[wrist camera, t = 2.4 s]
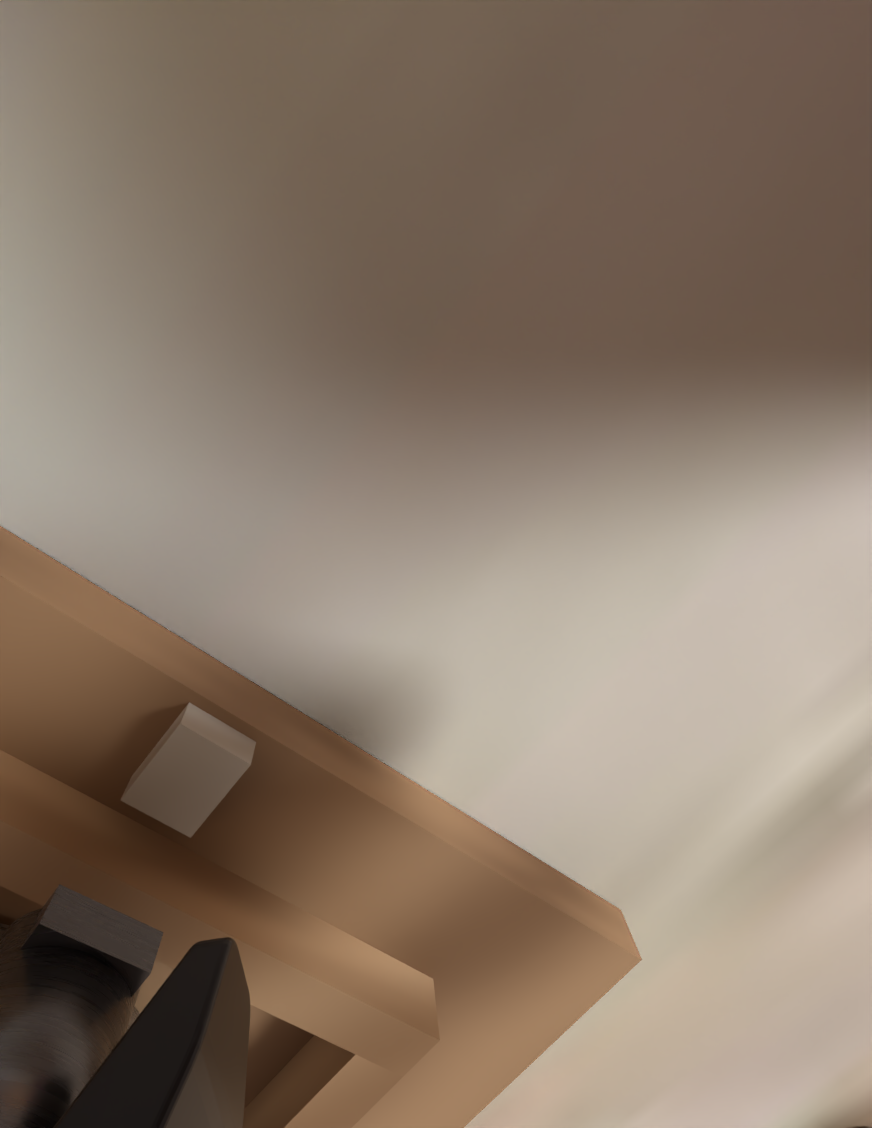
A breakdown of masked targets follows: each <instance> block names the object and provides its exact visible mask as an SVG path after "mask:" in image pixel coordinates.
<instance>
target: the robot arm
mask: <svg viewBox="0 0 872 1128" xmlns="http://www.w3.org/2000/svg"><path fill="white" fill-rule="evenodd" d="M249 1029H250V994H249V989H248V985H247V981H246V977H245V973H244V969H243V965H242V961H241V957H240V953H239V950H238V946H237V944H236V942H235V940H234V939H232V938H230V937H224V938H217V939H211V940H204V941H199V942H197V943H195V944H194V945H193V946H192V947H191V948H190V949H189V950H188V952H187V953H186V954H185V955H184V957H183V958H182V959H181V961H180V962H179V963H178V965H177V966H176V967H175V969H174V970H173V971H172V973H171V974H170V975H169V976H168V978H167V979H166V980H165V982H164V983H163V984H162V986H161V987H160V988H159V990H158V991H157V992H156V994H155V995H154V996H153V997H152V999H151V1000H150V1001H149V1003H148V1004H147V1005H146V1007H145V1008H144V1009H143V1011H142V1012H141V1013H140V1015H139V1016H138V1017H137V1018H136V1020H135V1021H134V1022H133V1024H132V1025H131V1026H130V1028H129V1029H128V1030H127V1032H126V1033H125V1034H124V1036H123V1037H122V1038H121V1039H120V1041H119V1042H118V1043H117V1045H116V1046H115V1047H114V1049H113V1050H112V1051H111V1053H110V1054H109V1055H108V1056H107V1058H106V1059H105V1060H104V1062H103V1063H102V1064H101V1066H100V1067H99V1068H98V1070H97V1071H96V1072H95V1074H94V1075H93V1076H92V1077H91V1079H90V1080H89V1081H88V1083H87V1084H86V1085H85V1087H84V1088H83V1089H82V1091H81V1092H80V1093H79V1095H78V1096H77V1097H76V1098H75V1100H74V1101H73V1102H72V1104H71V1105H70V1106H69V1108H68V1109H67V1110H66V1112H65V1113H64V1114H63V1116H62V1117H61V1118H60V1119H59V1121H58V1122H57V1123H56V1125H55V1126H54V1127H53V1128H243V1117H244V1103H245V1088H246V1073H247V1058H248V1044H249Z"/></svg>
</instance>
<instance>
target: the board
mask: <svg viewBox="0 0 872 1128" xmlns="http://www.w3.org/2000/svg"><path fill="white" fill-rule="evenodd" d="M59 884H60V885H62V886H65V887H67V888H69V889H71V890H73V891H75V892H78V893H80V894H82V895H84V896H86V897H88V898H90V899H93V900H95V901H97V902H99V903H101V904H103V905H106V906H108V907H110V908H112V909H114V910H116V911H119V912H121V913H123V914H125V915H127V916H129V917H132V918H134V919H136V920H138V921H140V922H142V923H145V924H147V925H149V926H151V927H153V928H155V929H157V930H160V931H162V932H164V933H163V936H162V939H161V942H160V946H159V949H158V952H157V955H156V958H155V962H154V965H153V968H152V971H151V974H150V975H149V976H148V977H147V979H146V980H145V981H144V982H143V984H142V985H141V988H140V991H139V994H138V997H137V1000H136V1003H135V1007H136V1008H137V1010H138V1011H139V1013H141V1012H142V1011H143V1009H144V1008H145V1007H146V1005H147V1004H148V1003H149V1001H150V1000H151V999H152V997H153V996H154V995H155V994H156V992H157V991H158V990H159V988H160V987H161V986H162V984H163V983H164V982H165V980H166V979H167V978H168V976H169V975H170V974H171V973H172V971H173V970H174V969H175V967H176V966H177V965H178V963H179V962H180V961H181V959H182V958H183V957H184V955H185V954H186V953H187V952H188V950H189V949H190V948H191V947H192V946H193V945H194V944H195V943H197V942H199V941H204V940H211V939H217V938H224V937H230V938H232V939H234V940H235V942H236V944H237V946H238V950H239V953H240V957H241V961H242V965H243V969H244V973H245V977H246V981H247V985H248V989H249V994H250V1029H249V1044H248V1058H247V1073H246V1088H245V1103H244V1117H243V1128H464V1127H465V1126H466V1125H467V1124H468V1123H469V1122H470V1121H471V1120H472V1119H473V1118H474V1117H475V1116H476V1115H477V1114H478V1113H479V1112H481V1111H482V1110H483V1109H484V1108H485V1107H486V1106H487V1105H488V1104H489V1103H490V1102H491V1101H492V1100H493V1099H494V1098H495V1097H496V1096H498V1095H499V1094H500V1093H501V1092H502V1091H503V1090H504V1089H505V1088H506V1087H507V1086H508V1085H509V1084H510V1083H511V1082H512V1081H513V1080H514V1079H516V1078H517V1077H518V1076H519V1075H520V1074H521V1073H522V1072H523V1071H524V1070H525V1069H526V1068H527V1067H528V1066H529V1065H530V1064H531V1063H532V1062H534V1061H535V1060H536V1059H537V1058H538V1057H539V1056H540V1055H541V1054H542V1053H543V1052H544V1051H545V1050H546V1049H547V1048H548V1047H549V1046H551V1045H552V1044H553V1043H554V1042H555V1041H556V1040H557V1039H558V1038H559V1037H560V1036H561V1035H562V1034H563V1033H564V1032H565V1031H566V1030H567V1029H569V1028H570V1027H571V1026H572V1025H573V1024H574V1023H575V1022H576V1021H577V1020H578V1019H579V1018H580V1017H581V1016H582V1015H583V1014H584V1013H586V1012H587V1011H588V1010H589V1009H590V1008H591V1007H592V1006H593V1005H594V1004H595V1003H596V1002H597V1001H598V1000H599V999H600V998H601V997H602V996H604V995H605V994H606V993H607V992H608V991H609V990H610V989H611V988H612V987H613V986H614V985H615V984H616V983H617V982H618V981H619V980H621V979H622V978H623V977H624V976H625V975H626V974H627V973H628V972H629V971H630V970H631V969H632V968H633V967H634V966H635V965H636V964H637V963H639V962H640V961H641V960H642V959H641V957H640V954H639V952H638V949H637V947H636V945H635V942H634V940H633V938H632V935H631V933H630V931H629V928H628V926H627V923H626V921H625V919H624V916H623V914H622V912H621V910H620V909H618V908H617V907H615V906H614V905H612V904H610V903H609V902H607V901H606V900H604V899H602V898H601V897H599V896H597V895H596V894H594V893H593V892H591V891H589V890H588V889H586V888H585V887H583V886H581V885H580V884H578V883H576V882H575V881H573V880H572V879H570V878H568V877H567V876H565V875H563V874H562V873H560V872H559V871H557V870H555V869H554V868H552V867H551V866H549V865H547V864H546V863H544V862H542V861H541V860H539V859H538V858H536V857H534V856H533V855H531V854H530V853H528V852H526V851H525V850H523V849H521V848H520V847H518V846H517V845H515V844H513V843H512V842H510V841H509V840H507V839H505V838H504V837H502V836H500V835H499V834H497V833H496V832H494V831H492V830H491V829H489V828H488V827H486V826H484V825H483V824H481V823H479V822H478V821H476V820H475V819H473V818H471V817H470V816H468V815H467V814H465V813H463V812H462V811H460V810H458V809H457V808H455V807H454V806H452V805H450V804H449V803H447V802H446V801H444V800H442V799H441V798H439V797H437V796H436V795H434V794H433V793H431V792H429V791H428V790H426V789H425V788H423V787H421V786H420V785H418V784H416V783H415V782H413V781H412V780H410V779H408V778H407V777H405V776H404V775H402V774H400V773H399V772H397V771H395V770H394V769H392V768H391V767H389V766H387V765H386V764H384V763H383V762H381V761H379V760H378V759H376V758H374V757H373V756H371V755H370V754H368V753H366V752H365V751H363V750H362V749H360V748H358V747H357V746H355V745H353V744H352V743H350V742H349V741H347V740H345V739H344V738H342V737H340V736H339V735H337V734H336V733H334V732H332V731H331V730H329V729H328V728H326V727H324V726H323V725H321V724H319V723H318V722H316V721H315V720H313V719H311V718H310V717H308V716H307V715H305V714H303V713H302V712H300V711H298V710H297V709H295V708H294V707H292V706H290V705H289V704H287V703H286V702H284V701H282V700H281V699H279V698H277V697H276V696H274V695H273V694H271V693H269V692H268V691H266V690H265V689H263V688H261V687H260V686H258V685H256V684H255V683H253V682H252V681H250V680H248V679H247V678H245V677H244V676H242V675H240V674H239V673H237V672H235V671H234V670H232V669H231V668H229V667H227V666H226V665H224V664H223V663H221V662H219V661H218V660H216V659H214V658H213V657H211V656H210V655H208V654H206V653H205V652H203V651H202V650H200V649H198V648H197V647H195V646H193V645H192V644H190V643H189V642H187V641H185V640H184V639H182V638H181V637H179V636H177V635H176V634H174V633H172V632H171V631H169V630H168V629H166V628H164V627H163V626H161V625H160V624H158V623H156V622H155V621H153V620H151V619H150V618H148V617H147V616H145V615H143V614H142V613H140V612H139V611H137V610H135V609H134V608H132V607H130V606H129V605H127V604H126V603H124V602H122V601H121V600H119V599H117V598H116V597H114V596H113V595H111V594H109V593H108V592H106V591H105V590H103V589H101V588H100V587H98V586H96V585H95V584H93V583H92V582H90V581H88V580H87V579H85V578H84V577H82V576H80V575H79V574H77V573H75V572H74V571H72V570H71V569H69V568H67V567H66V566H64V565H63V564H61V563H59V562H58V561H56V560H54V559H53V558H51V557H50V556H48V555H46V554H45V553H43V552H42V551H40V550H38V549H37V548H35V547H33V546H32V545H30V544H29V543H27V542H25V541H24V540H22V539H21V538H19V537H17V536H16V535H14V534H12V533H11V532H9V531H8V530H6V529H4V528H3V527H1V526H0V923H2V924H5V925H9V926H10V925H11V924H12V923H13V922H14V921H16V920H17V919H19V918H20V917H22V916H24V915H26V914H28V913H30V912H32V911H35V910H38V909H41V908H42V907H43V906H44V904H45V903H46V902H47V900H48V899H49V898H50V896H51V895H52V894H53V892H54V891H55V890H56V888H57V887H58V886H59Z"/></svg>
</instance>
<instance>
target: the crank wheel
mask: <svg viewBox="0 0 872 1128" xmlns="http://www.w3.org/2000/svg"><path fill="white" fill-rule="evenodd" d="M163 933H164V932H162V931H160V930H157V929H155V928H153V927H151V926H149V925H147V924H145V923H142V922H140V921H138V920H136V919H134V918H132V917H129V916H127V915H125V914H123V913H121V912H119V911H116V910H114V909H112V908H110V907H108V906H106V905H103V904H101V903H99V902H97V901H95V900H93V899H90V898H88V897H86V896H84V895H82V894H80V893H78V892H75V891H73V890H71V889H69V888H67V887H65V886H62V885H60V884H59V886H58V887H57V888H56V890H55V891H54V892H53V894H52V895H51V896H50V898H49V899H48V900H47V902H46V903H45V904H44V906H43V907H42V908H41V909H38V910H35V911H32V912H30V913H28V914H26V915H24V916H22V917H20V918H19V919H17V920H16V921H14V922H13V923H12V924H11V925H10V926H9V925H5V924H2V923H0V1128H53V1127H54V1126H55V1125H56V1123H57V1122H58V1121H59V1119H60V1118H61V1117H62V1116H63V1114H64V1113H65V1112H66V1110H67V1109H68V1108H69V1106H70V1105H71V1104H72V1102H73V1101H74V1100H75V1098H76V1097H77V1096H78V1095H79V1093H80V1092H81V1091H82V1089H83V1088H84V1087H85V1085H86V1084H87V1083H88V1081H89V1080H90V1079H91V1077H92V1076H93V1075H94V1074H95V1072H96V1071H97V1070H98V1068H99V1067H100V1066H101V1064H102V1063H103V1062H104V1060H105V1059H106V1058H107V1056H108V1055H109V1054H110V1053H111V1051H112V1050H113V1049H114V1047H115V1046H116V1045H117V1043H118V1042H119V1041H120V1039H121V1038H122V1037H123V1036H124V1034H125V1033H126V1032H127V1030H128V1029H129V1028H130V1026H131V1025H132V1024H133V1022H134V1021H135V1020H136V1018H137V1017H138V1016H139V1015H140V1013H139V1011H138V1010H137V1008H136V1007H135V1003H136V1000H137V997H138V994H139V991H140V988H141V985H142V984H143V982H144V981H145V980H146V979H147V977H148V976H149V975H150V974H151V971H152V968H153V965H154V962H155V958H156V955H157V952H158V949H159V946H160V942H161V939H162V936H163Z"/></svg>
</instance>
